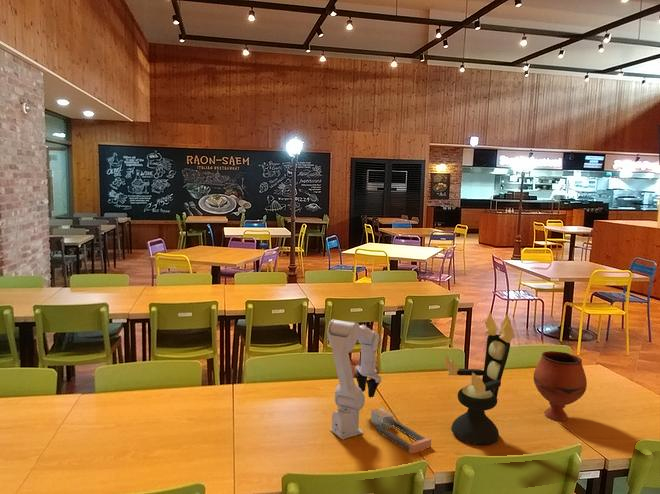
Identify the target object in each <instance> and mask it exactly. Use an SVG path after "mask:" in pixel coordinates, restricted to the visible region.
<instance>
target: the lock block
mask: <svg viewBox="0 0 660 494" xmlns="http://www.w3.org/2000/svg"><path fill="white" fill-rule="evenodd" d="M370 414H371V416H370V424H372V423H373V424H374V425H373V424H372V425H373V426H375V425H377V424H379V425H381V426H382V427H384V428H386V429H387V428H389V427H393V428H394V426H393V420H394V418H395V417H394V414H393V413H391V412H389V410H386V409H384V408H383V407H380V408H377V409H376V408H375V409H372V410H371V413H370ZM389 429H390V428H389ZM387 430H388V429H387Z"/></svg>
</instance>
